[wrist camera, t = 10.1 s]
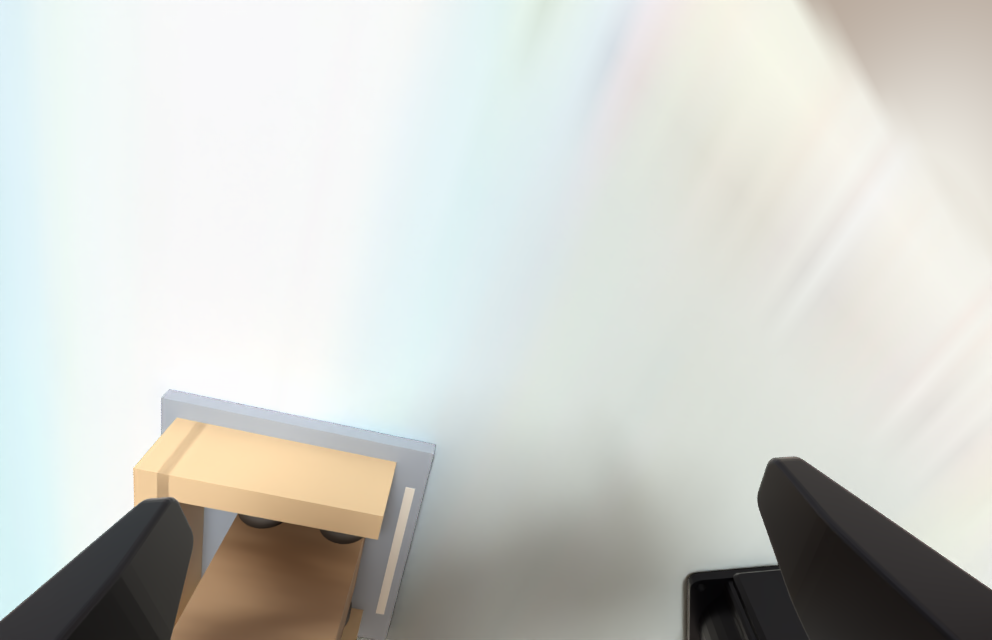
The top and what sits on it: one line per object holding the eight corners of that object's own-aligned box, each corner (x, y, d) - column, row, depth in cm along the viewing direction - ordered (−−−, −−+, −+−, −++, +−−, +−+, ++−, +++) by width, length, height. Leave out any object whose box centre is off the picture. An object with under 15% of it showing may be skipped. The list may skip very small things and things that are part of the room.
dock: (435, 444, 24) (425, 507, 21) (387, 630, 29) (373, 704, 26) (169, 389, 23) (114, 446, 20) (167, 592, 28) (124, 664, 25)
